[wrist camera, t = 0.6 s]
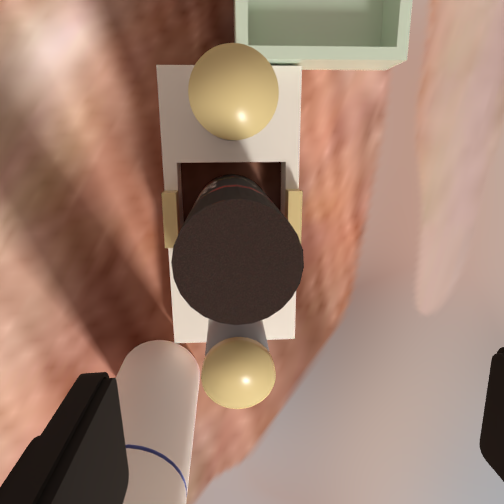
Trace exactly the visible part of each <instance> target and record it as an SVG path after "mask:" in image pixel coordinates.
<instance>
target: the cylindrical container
mask: <svg viewBox="0 0 504 504" xmlns="http://www.w3.org/2000/svg"><path fill="white" fill-rule="evenodd" d="M115 379H116V381H117V386H118V394H119V401H120V408H121V416H122V423H123V431H124V438H125V446H126V453H127V460H128V468H129V481H128V487H127V491H126V495H125V498H124V502H123V504H186V498H187V491H188V482H189V472H190V463H191V454H192V445H193V436H194V426H195V417H196V408H197V399H198V390H199V381H200V370H199V366H198V363H197V361H196V359H195V358H194V356H193V355H192V354H191V353H190V352H189V351H188V350H187V349H186V348H184V347H183V346H181V345H179V344H177V343H174V342H171V341H166V340H153V341H148V342H145V343H142V344H140V345H138V346H137V347H135V348H134V349H133V350H132V351H130V352H129V353H128V355H127V356H126V358H125V359H124V361H123V363H122V365H121V367H120V370H119V372H118V374H117V376H116V378H115Z"/></svg>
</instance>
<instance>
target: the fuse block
mask: <svg viewBox="0 0 504 504" xmlns="http://www.w3.org/2000/svg"><path fill="white" fill-rule="evenodd" d="M156 68H157V83H158V99H159V114H160V129H161V144H162V160H163V175H164V190H165V191H163V192H162V193H161V196H162V211H163V226H164V240H165V248H168V251H169V267H170V282H171V297H172V312H173V328H174V343H195V342H206V352H205V358H204V361H203V366H202V376H201V379H202V385H203V388H204V390H205V392H206V394H207V395H208V396H209V398H210V399H212V400H213V401H214V402H215V403H217V404H219V405H221V406H223V407H226V408H231V409H243V408H248V407H251V406H254V405H256V404H258V403H259V402H261V401H262V400H264V399H265V398H266V397H267V396H268V394H269V393H270V392H271V390H272V388H273V386H274V383H275V376H276V375H275V368H274V363H273V359H272V356H271V354H270V353H269V348H268V344H267V340H273V339H295V308H296V291H295V293H294V295H293V297H292V298H291V299H290V300H289V301H288V302H287V304H286V305H285V306H284V307H283V308H282V309H281V310H279V311H278V312H276V313H275V314H273V315H272V316H270V317H269V318H266V319H264V320H261V321H258V322H255V323H252V324H242V325H231V324H223V323H218V322H216V321H213V320H211V319H208V318H206V317H204V316H202V315H201V314H199V313H198V312H197V311H195V310H194V309H193V308H191V307H190V306H189V304H188V303H187V302H186V301H185V299H184V298H183V297H182V296H181V294H180V293H179V290H178V288H177V286H176V283H175V281H174V278H173V271H172V264H171V261H172V253H173V246H174V244H175V241H176V239H177V237H178V234H179V232H180V230H181V228H182V226H183V224H184V218H183V199H182V180H181V163H203V162H281V210H280V212H281V213H282V214H283V215H284V216H285V217H286V219H287V220H288V221H289V222H290V224H291V225H292V227H293V228H294V230H295V231H296V233H297V234H298V237H299V240H300V243H301V224H302V191H301V190H300V189H299V155H300V116H301V78H302V66H271V64H270V63H269V61H268V60H267V59H266V58H265V57H264V56H263V55H262V54H261V53H260V52H258V51H257V50H256V49H254V48H252V47H250V46H247V45H244V44H240V43H225V44H221V45H218V46H215V47H213V48H212V49H210V50H208V51H207V52H206V53H204V54H203V55H202V56H201V57H200V59H199V60H198V61H197V63H196V64H195V65H156Z"/></svg>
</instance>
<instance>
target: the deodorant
mask: <svg viewBox="0 0 504 504" xmlns="http://www.w3.org/2000/svg"><path fill="white" fill-rule="evenodd" d="M171 264H172V271H173V278H174V281H175V283H176V286H177V288H178V290H179V293H180V294H181V296H182V297H183V298H184V299H185V301H186V302H187V303H188V304H189V306H190V307H191V308H193V309H194V310H195V311H197V312H198V313H199V314H201V315H202V316H204V317H206V318H208V319H211V320H213V321H216V322H218V323H223V324H231V325H242V324H252V323H255V322H258V321H261V320H264V319H266V318H269V317H270V316H272V315H273V314H275V313H276V312H278V311H279V310H281V309H282V308H283V307H284V306H285V305H286V304H287V302H288V301H289V300H290V299H291V298H292V297H293V295H294V293H295V291H296V289H297V288H298V286H299V284H300V281H301V276H302V272H303V268H304V262H303V249H302V246H301V243H300V240H299V237H298V234H297V233H296V231H295V230H294V228H293V227H292V225H291V224H290V222H289V221H288V220H287V219H286V217H285V216H284V215H283V214H282V213H281V212H280V210H279V209H278V208H277V207H276V206H275V205H274V203H273V202H272V201H271V200H270V199H269V198H268V196H267V195H266V194H265V193H264V192H263V191H262V189H261V188H260V187H259V186H258V185H257V184H256V183H254V182H253V181H252V180H250V179H248V178H246V177H244V176H240V175H235V174H231V175H223V176H220V177H217V178H215V179H213V180H212V181H211V182H209V183H208V184H207V185H206V186H205V187H204V188H203V190H202V191H201V192H200V194H199V196H198V198H197V200H196V202H195V204H194V206H193V207H192V209H191V211H190V213H189V215H188V217H187V219H186V221H185V222H184V224H183V226H182V228H181V230H180V232H179V234H178V237H177V239H176V241H175V244H174V246H173V253H172V261H171Z"/></svg>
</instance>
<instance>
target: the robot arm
mask: <svg viewBox="0 0 504 504" xmlns="http://www.w3.org/2000/svg"><path fill="white" fill-rule="evenodd" d="M480 449H481V453H482V455H483V457H484V458H485V459H486V461H487V462H488V463H489V465H490V466H491V467H492V468H493V469H494V470H495V472H496V473H497V474H498V475H499V476H500V477H501V479H502V480H503V481H504V347H502V348H500V349H499V350H498V352H497V354H495V355H494V356H493V357H492V361H491V368H490V375H489V382H488V388H487V395H486V402H485V409H484V416H483V423H482V430H481V436H480ZM128 481H129V468H128V460H127V453H126V446H125V438H124V431H123V423H122V416H121V408H120V401H119V394H118V386H117V381H116V379H115V378H109V376H108V373H106V372H100V373H85V374H81V375H80V376H79V377H78V378H77V380H76V381H75V383H74V385H73V386H72V388H71V389H70V391H69V392H68V394H67V395H66V397H65V398H64V400H63V402H62V403H61V405H60V406H59V408H58V409H57V411H56V412H55V414H54V416H53V417H52V419H51V420H50V422H49V423H48V425H47V426H46V428H45V429H44V431H43V433H42V434H41V436H37V437H35V438H34V439H33V440H32V441H31V442H30V444H29V445H28V447H27V448H26V450H25V451H24V453H23V454H22V456H21V457H20V459H19V460H18V462H17V463H16V465H15V466H14V468H13V469H12V471H11V472H10V474H9V475H8V477H7V478H6V480H5V481H4V483H3V484H2V486H1V487H0V504H123V502H124V498H125V495H126V491H127V487H128Z"/></svg>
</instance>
